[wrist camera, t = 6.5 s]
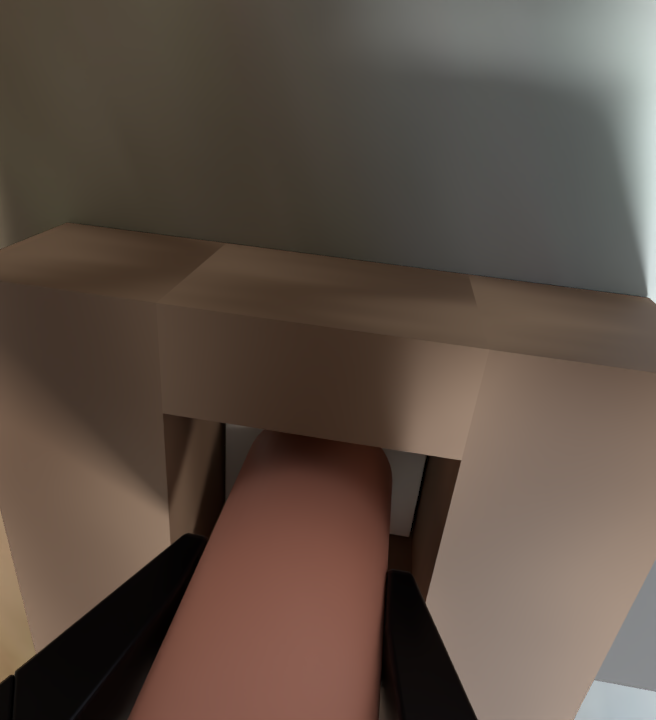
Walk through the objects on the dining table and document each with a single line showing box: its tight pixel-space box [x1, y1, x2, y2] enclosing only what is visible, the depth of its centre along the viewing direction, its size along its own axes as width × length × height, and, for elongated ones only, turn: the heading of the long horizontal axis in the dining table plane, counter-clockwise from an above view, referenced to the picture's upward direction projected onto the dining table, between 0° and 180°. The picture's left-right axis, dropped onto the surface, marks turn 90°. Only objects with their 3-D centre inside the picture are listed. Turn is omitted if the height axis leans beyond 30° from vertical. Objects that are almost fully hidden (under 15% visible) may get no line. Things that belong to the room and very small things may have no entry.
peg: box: [127, 429, 393, 720], centre depth 8 cm, size 3×3×9 cm
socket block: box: [0, 223, 656, 720], centre depth 14 cm, size 12×18×4 cm, turn 175°
